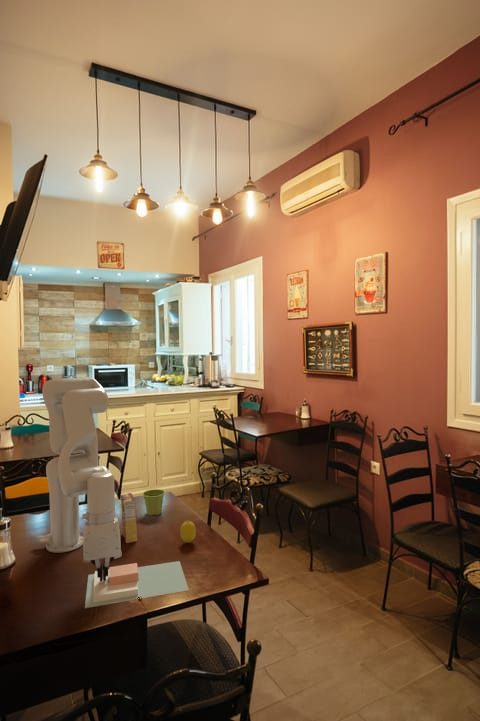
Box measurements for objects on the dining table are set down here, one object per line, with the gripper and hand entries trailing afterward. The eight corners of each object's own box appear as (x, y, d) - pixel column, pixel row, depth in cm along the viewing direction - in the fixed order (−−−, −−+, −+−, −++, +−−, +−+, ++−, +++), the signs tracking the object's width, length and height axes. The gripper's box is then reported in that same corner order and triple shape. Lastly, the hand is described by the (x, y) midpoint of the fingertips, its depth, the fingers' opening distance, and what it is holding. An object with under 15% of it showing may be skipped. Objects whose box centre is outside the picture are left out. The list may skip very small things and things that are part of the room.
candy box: (121, 534, 163) (120, 493, 163) (133, 532, 165) (132, 492, 164) (125, 543, 155) (124, 501, 154) (137, 541, 156) (136, 499, 156)
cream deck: (93, 602, 118) (92, 596, 118) (95, 576, 132) (94, 571, 132) (138, 594, 122) (138, 588, 121) (135, 570, 135) (135, 565, 135)
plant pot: (154, 518, 177) (154, 497, 177) (138, 514, 182) (137, 494, 182) (170, 511, 185) (169, 491, 185) (153, 507, 190) (153, 487, 190)
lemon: (198, 541, 156) (198, 519, 156) (190, 547, 151) (190, 524, 151) (185, 538, 158) (185, 516, 158) (177, 544, 153) (176, 522, 153)
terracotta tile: (109, 586, 123) (109, 577, 123) (109, 575, 129) (109, 567, 129) (138, 581, 126) (138, 572, 125) (137, 571, 131) (136, 562, 131)
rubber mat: (84, 609, 116) (84, 608, 116) (88, 575, 133) (88, 574, 133) (188, 591, 124) (188, 590, 124) (179, 561, 141) (179, 561, 141)
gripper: (72, 524, 119) (74, 590, 120) (128, 517, 123) (130, 581, 124) (75, 514, 127) (76, 576, 127) (127, 508, 131) (129, 568, 131)
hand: (103, 578), depth 125 cm, fingers closed
